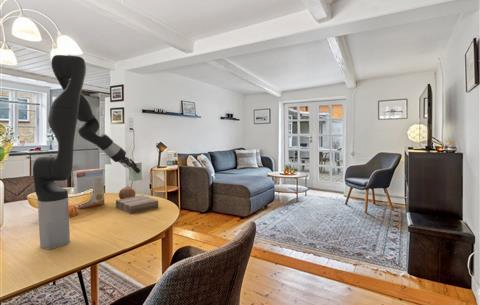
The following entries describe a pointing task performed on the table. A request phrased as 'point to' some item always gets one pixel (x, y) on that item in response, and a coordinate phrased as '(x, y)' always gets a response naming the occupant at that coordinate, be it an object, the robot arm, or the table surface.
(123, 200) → the walnut base
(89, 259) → the table surface
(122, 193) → the onion
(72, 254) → the table surface
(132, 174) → the sage block
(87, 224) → the table surface
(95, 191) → the cracker box
